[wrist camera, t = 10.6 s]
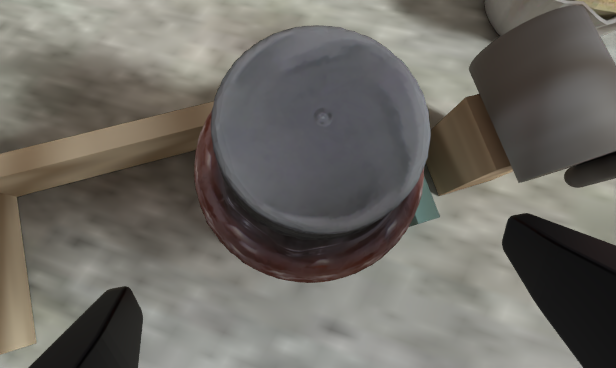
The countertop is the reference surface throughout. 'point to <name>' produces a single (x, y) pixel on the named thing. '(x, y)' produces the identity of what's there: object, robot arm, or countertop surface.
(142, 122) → the frame
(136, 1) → the countertop surface
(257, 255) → the supplement bottle
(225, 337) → the countertop surface
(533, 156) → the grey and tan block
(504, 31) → the cupcake
